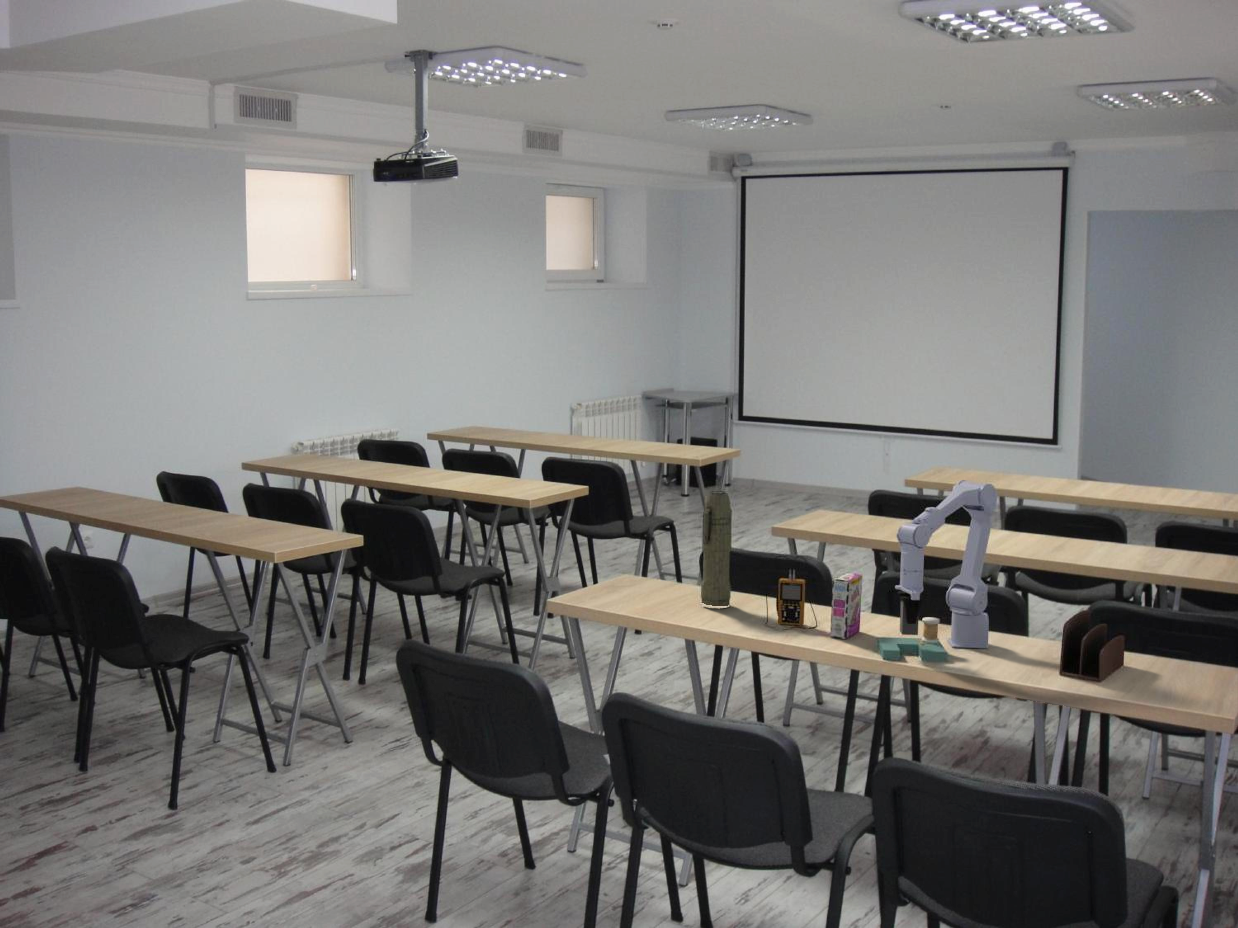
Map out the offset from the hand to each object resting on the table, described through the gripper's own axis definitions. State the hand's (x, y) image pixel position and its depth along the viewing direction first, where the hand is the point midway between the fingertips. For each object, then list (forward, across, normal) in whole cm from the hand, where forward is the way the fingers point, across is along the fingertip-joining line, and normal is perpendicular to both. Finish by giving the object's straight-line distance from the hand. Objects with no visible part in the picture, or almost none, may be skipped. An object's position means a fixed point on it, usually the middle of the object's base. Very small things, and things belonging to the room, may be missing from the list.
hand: (909, 621), depth 313 cm
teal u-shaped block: (+9, -3, +1) cm, 10 cm away
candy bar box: (+10, -21, -14) cm, 27 cm away
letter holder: (+10, +7, +44) cm, 46 cm away
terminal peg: (+3, 0, 0) cm, 3 cm away
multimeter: (+10, -27, -29) cm, 41 cm away
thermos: (+10, -51, -50) cm, 72 cm away
